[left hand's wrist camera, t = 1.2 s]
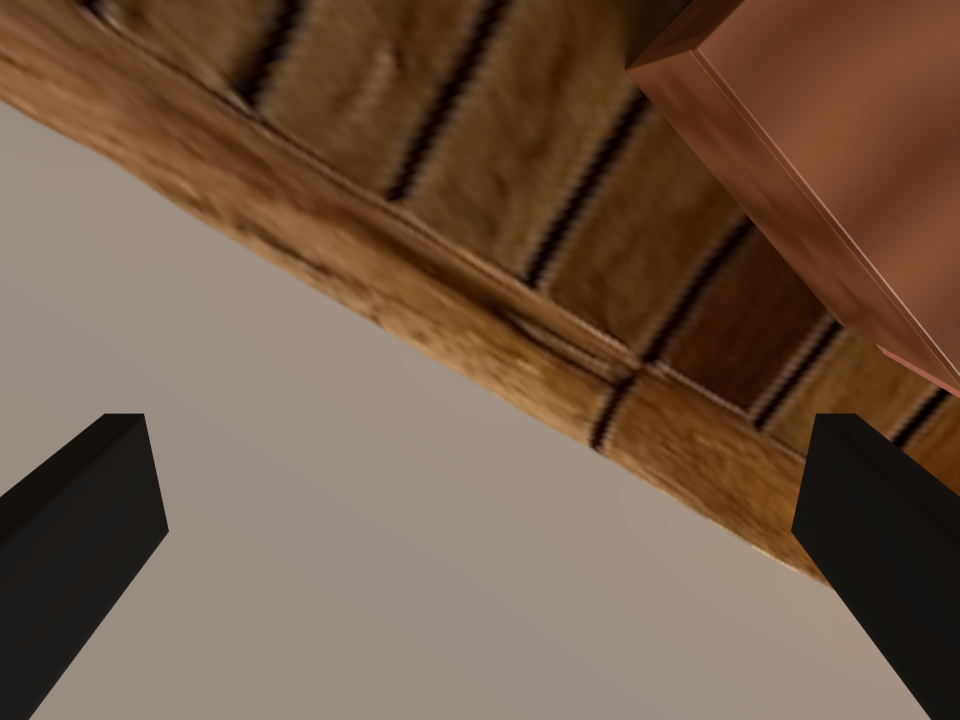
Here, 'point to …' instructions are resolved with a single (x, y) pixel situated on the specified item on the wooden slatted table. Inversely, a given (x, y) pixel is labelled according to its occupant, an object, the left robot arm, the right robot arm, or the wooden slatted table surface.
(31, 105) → the wooden slatted table surface
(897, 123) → the cabinet
